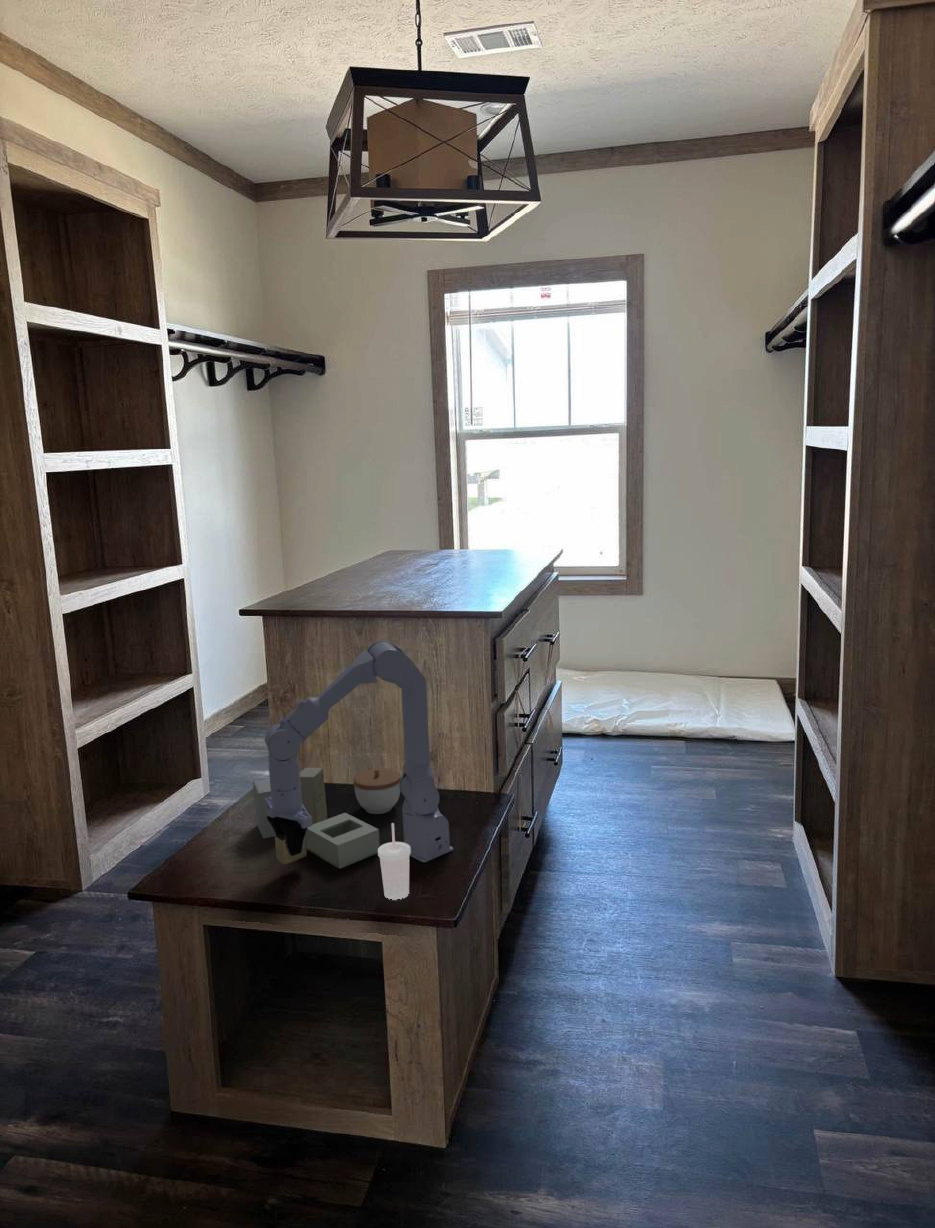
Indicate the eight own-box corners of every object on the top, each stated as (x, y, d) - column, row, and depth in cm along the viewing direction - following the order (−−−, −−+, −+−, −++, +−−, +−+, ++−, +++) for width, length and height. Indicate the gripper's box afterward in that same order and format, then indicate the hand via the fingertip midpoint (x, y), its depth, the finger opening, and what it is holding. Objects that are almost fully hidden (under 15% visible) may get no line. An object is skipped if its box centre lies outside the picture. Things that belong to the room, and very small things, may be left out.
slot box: (380, 852, 184) (378, 829, 183) (339, 869, 177) (337, 845, 176) (346, 834, 193) (345, 812, 192) (306, 849, 186) (304, 827, 185)
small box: (288, 834, 194) (284, 788, 192) (262, 839, 192) (258, 793, 190) (281, 820, 201) (278, 776, 199) (256, 825, 199) (252, 780, 197)
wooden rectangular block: (306, 856, 177) (304, 832, 176) (284, 864, 174) (282, 840, 173) (298, 851, 179) (296, 828, 178) (276, 859, 176) (274, 836, 175)
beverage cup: (400, 882, 171) (396, 813, 168) (419, 894, 166) (416, 823, 164) (373, 893, 167) (369, 823, 164) (393, 905, 163) (388, 833, 160)
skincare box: (317, 830, 195) (313, 777, 193) (298, 829, 196) (294, 777, 194) (328, 818, 201) (324, 767, 199) (309, 817, 202) (305, 766, 200)
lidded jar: (356, 800, 210) (354, 762, 209) (402, 798, 211) (400, 760, 209) (353, 819, 200) (351, 780, 198) (402, 817, 200) (399, 777, 199)
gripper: (248, 782, 176) (254, 846, 179) (287, 802, 166) (292, 870, 168) (280, 772, 181) (285, 834, 184) (319, 791, 170) (324, 857, 173)
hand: (291, 851), depth 176 cm, fingers closed on wooden rectangular block, 3 cm apart
